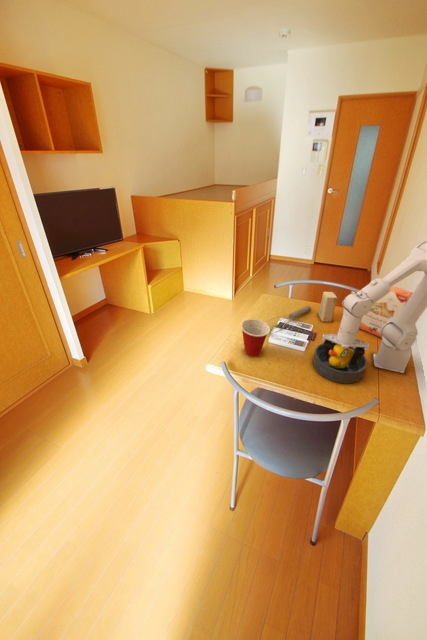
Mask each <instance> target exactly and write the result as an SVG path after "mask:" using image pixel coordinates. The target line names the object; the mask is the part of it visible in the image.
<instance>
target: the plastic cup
mask: <svg viewBox="0 0 427 640" xmlns="http://www.w3.org/2000/svg"><path fill="white" fill-rule="evenodd" d="M269 326H270V325H269V323H268V322H265V321H263V320H261V319H256V318H249V319H245V320H243V321H242V322H241V324H240V328H241V331H242V340H243V347H244V352H245V354H246V355H247V356H248V357H258V356H259V355H260V354H261V353H262V352H261V351H262V349H263V347H264V343H265V341H266V338H267V336H268V335H269V334H270V333H271V331H270V330H271V326H270V327H269Z"/></svg>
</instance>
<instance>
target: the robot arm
mask: <svg viewBox="0 0 427 640" xmlns="http://www.w3.org/2000/svg"><path fill="white" fill-rule="evenodd" d="M416 272H423V273H424V275H423V277H422V278H421V280H420V281H419V283H418V285H416V288H415V289H414V291H413V292H412V293H413V294H412V295H411V297H410V299H409V300H408V302H407V303H406V305H405V306H404V308H403V309H402V311H401V313H400V314H399V316H398V317H392V318H390V319H389V321H388V322H387V323H386V324H384V325H383V326H382V328H381V334H382V335H383V336H382V338H381V342H380V345H379V348H378V351H377V353H373V354H372V358H373V365H374V367H375V368H377V369H382V370H387V371H392V372H395V373H399V374H405V371H406V368H407V366H408V364H409V362H410V359H411V357H412V351H413V350H412V346H413V345H414V344H415V341H416V337H417V336H418V335H419V332H418V328H417V325H416V324H417V322H418V321H419V319H420V318H421V316H422V315H423V313H424V312H425V310H426V309H427V240H424V241H421V242H420V243H418V244H417V245H416V246H415V247H414V248H412V249H411V250H410V253H409V256H408V257H406V258H405V259H404V260H403V261H402V262H401V263H400V264H398V265H397V266H396V267H394V268H393V269H392V270H391V271H390V272H389V273H387V274H386V275H385V276H383V277H382V278H381V277H380V278H379V277H376V278H375V279H372V280H371V281H370V282H369V283H368V284H367V285H365V286H364V287H362V288H361V289H360V290H358V291H357V292H354V293H349V294H348V295H346V296H345V298H344V299H343V300H342V302H341V305H342V307H343V313H342V317H341V320H340V324H339V327H338V332H337V334H336V333H335V334H333V333H331V334H330V333H323V334H322V337H321V342H323V343H324V347H325V350H326V359H327V360H328V358H329V350H330V349H331V344H332V342H334V343H337V344H340V345H342V347H344V348H348V347H354V348H355V351H354V354H353V357H352V359H351V365H353V364H354V363H355V362H356V360H357V359H358V358H360V357H361V356H363V355H364V356H365V353H366V351H368V350H369V347H370V343H369V342H366V341H364V340H361V339H358V338H357V335H358V332H359V329H360V328H359V327H360V324H361V321H362V317H363V316H364V315H366V314H367V313H368V312H369V311H370V309H371V307H373V304H374V303H375V302H377V301H378V300H380V299H381V298H382V297H384V296H385V295H387V294H388V293H389V292H390V288H391V286H393V287H394V285H397V284H398V283H399V282H401V281H403V280H404V279H406V278H408V277H409V276H411V275H412V274H414V273H416Z"/></svg>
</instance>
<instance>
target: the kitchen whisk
mask: <svg viewBox="0 0 427 640" xmlns="http://www.w3.org/2000/svg"><path fill="white" fill-rule="evenodd" d="M311 309H312V306H311V305H306V306H304V307H301V308H300V309H298V310H297V309H296V310H295V311H293V312H292V313H289V314H284V315H283V314H282V315H281V318H280V319H278V318H279V315H277V316H275V317H271V318H270V319H267V324H268V325H269V327H270V332H271V334H276V333H278V332H279V331H282V330H283V329H286V326H288V325H289V323H290V322H291V321H292V320H295V319H296V318H298V317H300V316H302V315H304V314H306V313H308V312H310V311H311ZM286 317H287V318H288V319H286ZM276 318H277V319H278V320H275V321H274V322H271V323H270V321H271V320H273V319H276ZM284 319H286V320H285V321H284V322H282V323H280V324H279V325H277V326H276V327H271V326H272V325H273V324H275V323H277V322H279V321H282V320H284ZM280 326H282V327H281V328H280V329H279V330H276V331H272V330H274V329H276V328H279V327H280Z"/></svg>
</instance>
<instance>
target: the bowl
mask: <svg viewBox="0 0 427 640" xmlns="http://www.w3.org/2000/svg"><path fill="white" fill-rule="evenodd" d="M336 344H337V343H334V342H332V344H331V349H330V350H332V351H333V347H334V346H335V345H336ZM349 349H352V350H353V352H354V351H355V347H349ZM330 357H331V356H330V355H329V358H330ZM329 358H328V360H327V359H326V350H325V347H324V342H322V343H320V344H318V345H317V346H316V347H315V349H314V353H313V357H312V365H313V368H314V369H315V370H316V372H317V373H318V374H319V375H321V376H322V377H324V378H325V379H328V380H330V381H332V382H335V383H340V384H353V383H357V382H359V381H361V380H362V378H363V377H364V375H365V373H366V369H367V367H368V360H367V358H366V356H365V354H364V355H363V356H361V357H360V358H358V359H357V360H356V362H355V363H354V364H353V365H351V362H350V363H349V364H348V365H347V366H346V367H345V368H339V369H337V368H334V367H333V366H332V365H331V364H330V363H329Z"/></svg>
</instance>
